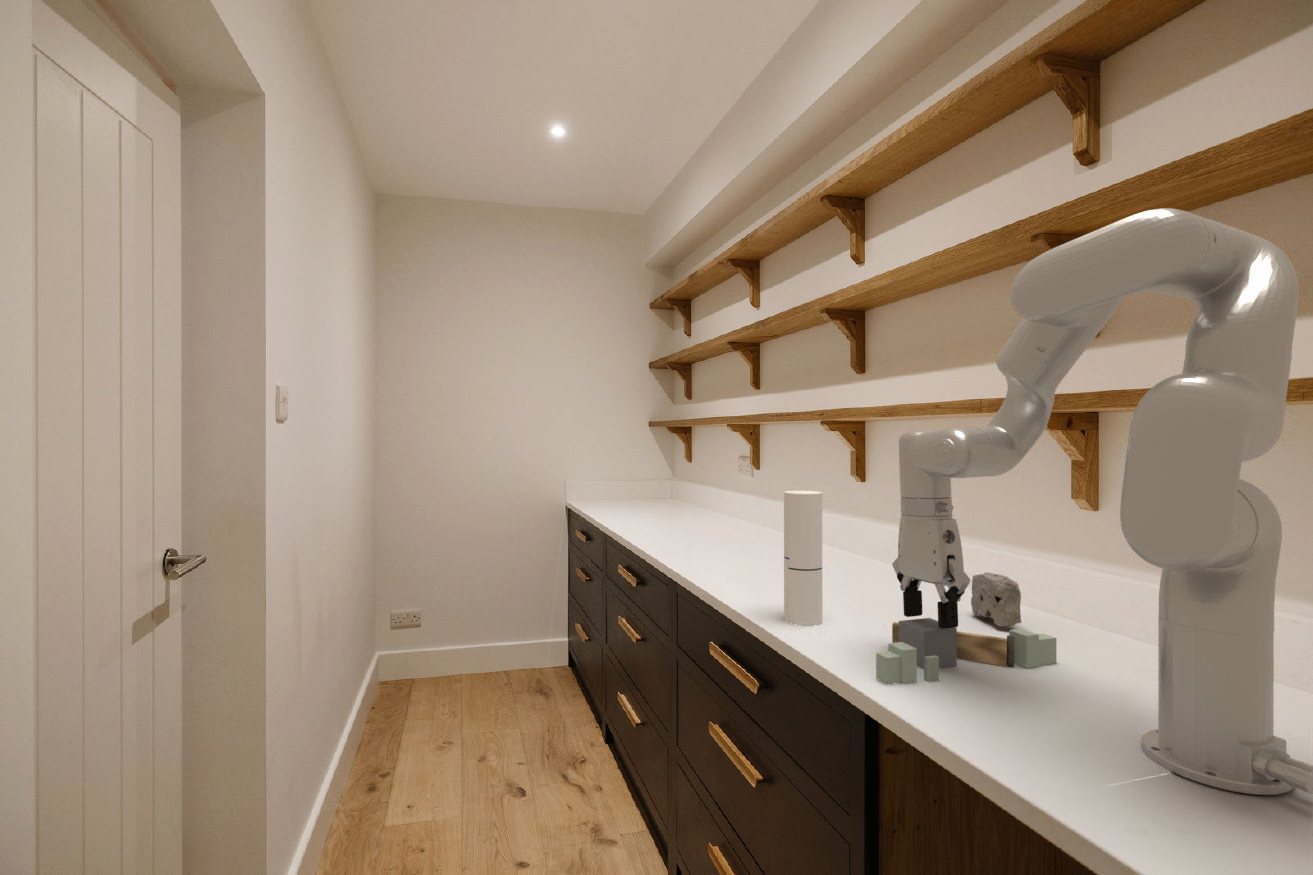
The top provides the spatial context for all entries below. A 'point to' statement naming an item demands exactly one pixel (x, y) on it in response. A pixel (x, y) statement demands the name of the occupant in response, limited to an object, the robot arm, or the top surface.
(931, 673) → the grey-green stepped bar
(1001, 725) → the top surface
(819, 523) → the cylindrical container
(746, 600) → the top surface
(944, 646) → the rectangular block
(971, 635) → the brown wooden plank
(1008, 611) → the stone
